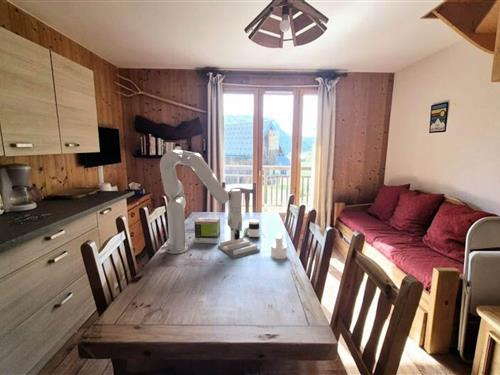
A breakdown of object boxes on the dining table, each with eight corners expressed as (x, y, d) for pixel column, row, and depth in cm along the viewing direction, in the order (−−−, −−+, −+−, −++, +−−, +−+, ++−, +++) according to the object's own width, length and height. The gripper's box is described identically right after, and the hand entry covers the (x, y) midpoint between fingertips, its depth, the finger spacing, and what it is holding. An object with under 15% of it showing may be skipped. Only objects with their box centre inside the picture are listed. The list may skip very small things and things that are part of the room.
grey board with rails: (233, 258, 144) (233, 252, 143) (218, 247, 159) (218, 241, 159) (259, 251, 154) (259, 245, 153) (242, 241, 169) (242, 236, 169)
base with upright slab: (286, 259, 144) (286, 239, 142) (270, 258, 145) (270, 237, 144) (287, 253, 152) (287, 233, 150) (272, 251, 154) (272, 232, 152)
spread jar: (259, 239, 174) (259, 223, 172) (242, 239, 174) (243, 222, 172) (259, 233, 186) (259, 218, 184) (243, 233, 186) (243, 217, 184)
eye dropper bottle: (231, 240, 162) (231, 222, 160) (240, 240, 161) (240, 222, 159) (230, 243, 157) (230, 224, 155) (239, 243, 157) (239, 224, 155)
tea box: (220, 238, 175) (220, 217, 173) (217, 244, 165) (217, 221, 163) (199, 237, 177) (198, 216, 174) (194, 243, 167) (194, 221, 165)
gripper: (223, 207, 161) (223, 235, 163) (237, 213, 147) (237, 243, 150) (233, 205, 165) (233, 233, 168) (247, 211, 151) (247, 241, 154)
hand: (235, 238), depth 159 cm, fingers closed on eye dropper bottle, 3 cm apart
